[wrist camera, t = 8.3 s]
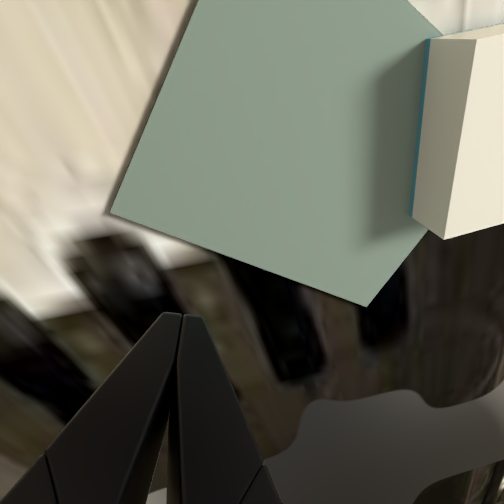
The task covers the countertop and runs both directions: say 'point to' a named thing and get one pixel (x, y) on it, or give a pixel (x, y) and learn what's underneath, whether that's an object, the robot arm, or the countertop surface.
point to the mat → (289, 139)
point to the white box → (461, 134)
